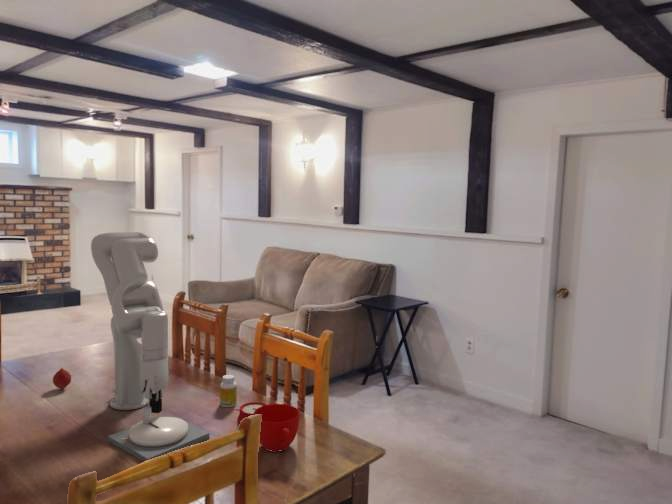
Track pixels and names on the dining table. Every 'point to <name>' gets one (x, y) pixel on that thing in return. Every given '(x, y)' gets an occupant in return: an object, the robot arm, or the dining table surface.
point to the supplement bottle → (228, 391)
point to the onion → (62, 379)
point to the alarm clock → (248, 409)
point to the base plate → (148, 453)
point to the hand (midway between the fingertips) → (155, 411)
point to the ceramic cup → (278, 425)
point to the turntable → (157, 430)
